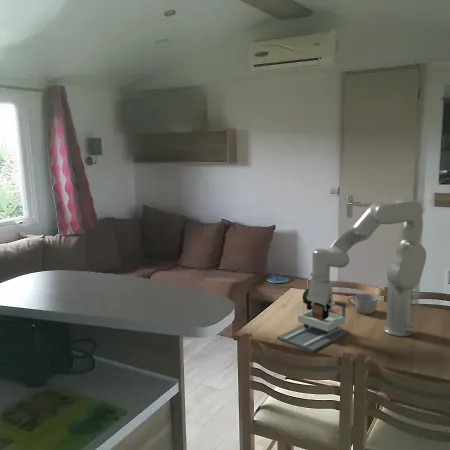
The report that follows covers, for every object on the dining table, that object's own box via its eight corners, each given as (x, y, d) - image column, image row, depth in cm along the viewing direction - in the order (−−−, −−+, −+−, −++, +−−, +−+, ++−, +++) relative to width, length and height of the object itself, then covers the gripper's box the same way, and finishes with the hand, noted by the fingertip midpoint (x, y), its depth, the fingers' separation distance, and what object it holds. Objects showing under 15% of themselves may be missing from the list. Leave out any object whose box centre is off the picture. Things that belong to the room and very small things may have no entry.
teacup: (379, 310, 238) (379, 295, 237) (373, 317, 229) (373, 301, 228) (351, 306, 246) (352, 291, 244) (345, 312, 237) (345, 297, 235)
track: (349, 332, 212) (349, 329, 212) (313, 352, 194) (313, 348, 193) (313, 321, 226) (313, 318, 225) (277, 339, 207) (277, 335, 207)
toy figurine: (313, 301, 259) (297, 311, 238) (315, 266, 258) (298, 274, 236) (330, 303, 255) (315, 314, 233) (332, 268, 253) (317, 276, 231)
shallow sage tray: (345, 328, 212) (345, 303, 210) (328, 337, 203) (328, 311, 201) (315, 319, 224) (315, 295, 222) (298, 327, 215) (298, 303, 213)
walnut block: (321, 320, 208) (321, 307, 207) (312, 317, 212) (312, 304, 211) (328, 317, 212) (328, 304, 211) (318, 314, 215) (319, 301, 214)
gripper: (300, 275, 212) (299, 314, 215) (332, 283, 200) (331, 324, 203) (310, 271, 217) (309, 309, 220) (342, 279, 205) (341, 319, 208)
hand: (320, 316), depth 212 cm, fingers closed on walnut block, 5 cm apart
